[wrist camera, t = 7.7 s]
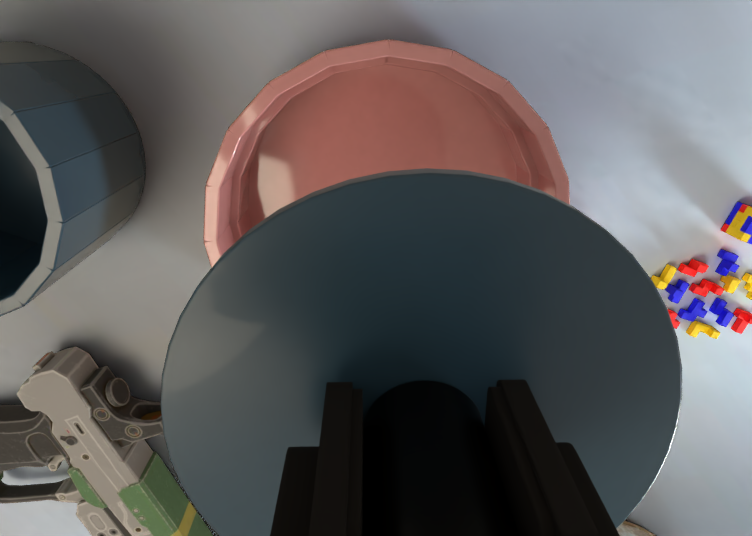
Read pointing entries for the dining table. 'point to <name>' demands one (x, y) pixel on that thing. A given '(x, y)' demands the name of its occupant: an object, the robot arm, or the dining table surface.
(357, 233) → the lid
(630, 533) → the milk can
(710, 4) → the dining table surface
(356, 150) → the bowl
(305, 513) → the robot arm
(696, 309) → the building blocks
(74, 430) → the futuristic handgun
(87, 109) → the tin
